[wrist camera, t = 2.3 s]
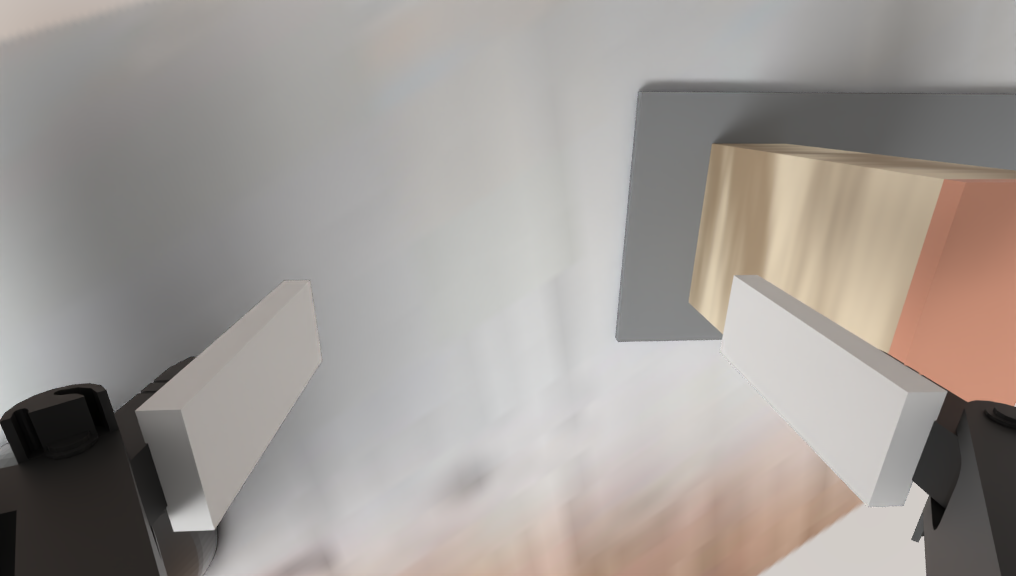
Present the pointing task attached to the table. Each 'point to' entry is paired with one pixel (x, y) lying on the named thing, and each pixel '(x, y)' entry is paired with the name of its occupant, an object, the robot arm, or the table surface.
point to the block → (872, 253)
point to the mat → (768, 120)
